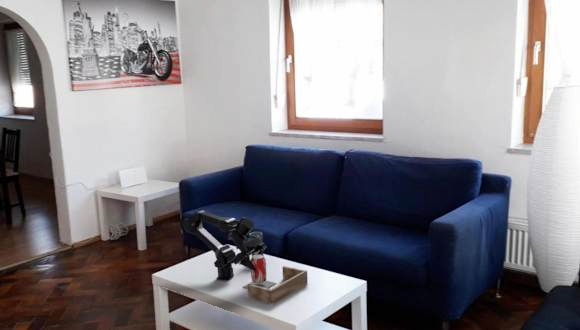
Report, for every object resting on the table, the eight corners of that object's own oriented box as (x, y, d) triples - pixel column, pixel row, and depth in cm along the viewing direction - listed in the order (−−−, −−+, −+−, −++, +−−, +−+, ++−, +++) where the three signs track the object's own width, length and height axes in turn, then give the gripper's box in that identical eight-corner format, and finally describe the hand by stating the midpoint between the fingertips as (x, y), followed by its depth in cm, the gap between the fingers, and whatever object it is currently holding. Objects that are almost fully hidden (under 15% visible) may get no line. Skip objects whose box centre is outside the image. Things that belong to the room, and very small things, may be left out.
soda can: (264, 284, 245) (263, 259, 243) (249, 284, 247) (248, 258, 245) (268, 278, 252) (267, 253, 250) (253, 278, 254) (252, 253, 252)
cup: (250, 259, 285) (249, 232, 282) (263, 258, 285) (262, 231, 283) (251, 264, 278) (249, 236, 276) (264, 263, 279) (262, 235, 276)
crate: (248, 297, 237) (247, 284, 236) (284, 277, 258) (284, 265, 257) (272, 304, 229) (271, 290, 228) (307, 283, 250) (307, 270, 249)
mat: (242, 287, 249) (242, 286, 249) (257, 279, 257) (257, 278, 257) (261, 292, 242) (261, 291, 242) (276, 283, 251) (276, 283, 251)
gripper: (236, 236, 240) (256, 264, 236) (262, 225, 255) (282, 252, 251) (224, 250, 246) (243, 278, 242) (250, 239, 261) (269, 265, 257)
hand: (260, 268), depth 248 cm, fingers closed on soda can, 7 cm apart
